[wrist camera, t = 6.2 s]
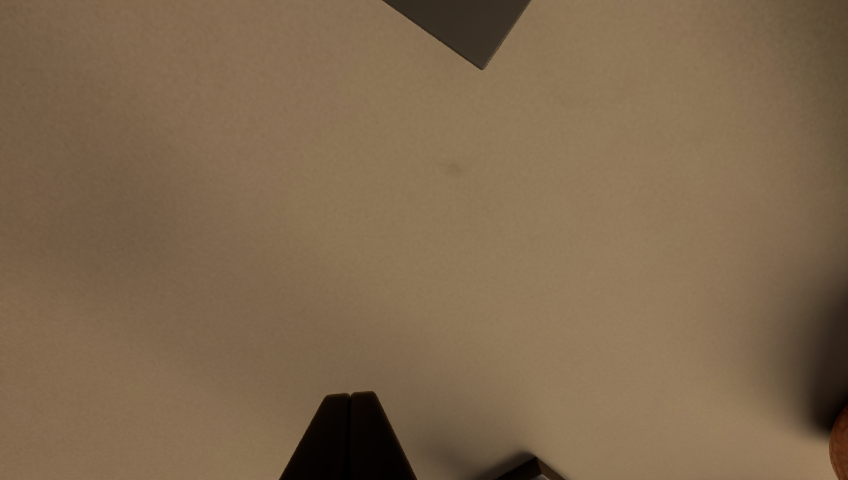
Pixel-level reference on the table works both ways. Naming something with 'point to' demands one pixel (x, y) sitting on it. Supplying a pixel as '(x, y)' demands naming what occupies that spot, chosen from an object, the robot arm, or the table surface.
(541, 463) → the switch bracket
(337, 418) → the robot arm
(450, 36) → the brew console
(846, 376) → the table surface
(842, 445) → the planter
